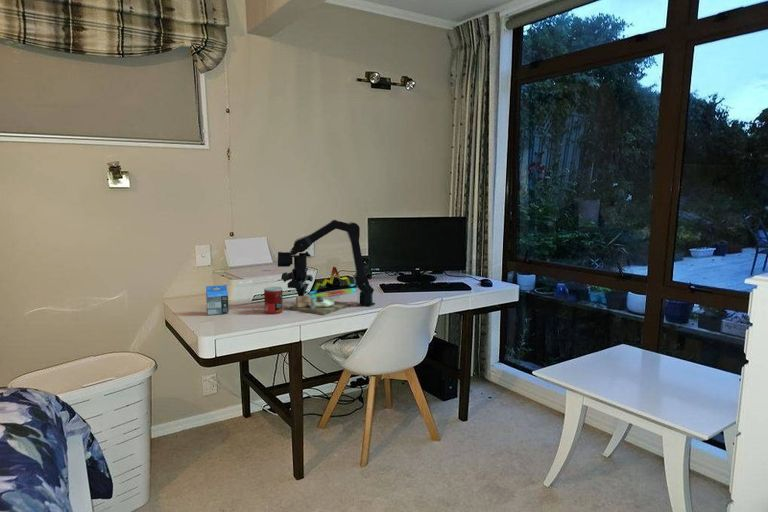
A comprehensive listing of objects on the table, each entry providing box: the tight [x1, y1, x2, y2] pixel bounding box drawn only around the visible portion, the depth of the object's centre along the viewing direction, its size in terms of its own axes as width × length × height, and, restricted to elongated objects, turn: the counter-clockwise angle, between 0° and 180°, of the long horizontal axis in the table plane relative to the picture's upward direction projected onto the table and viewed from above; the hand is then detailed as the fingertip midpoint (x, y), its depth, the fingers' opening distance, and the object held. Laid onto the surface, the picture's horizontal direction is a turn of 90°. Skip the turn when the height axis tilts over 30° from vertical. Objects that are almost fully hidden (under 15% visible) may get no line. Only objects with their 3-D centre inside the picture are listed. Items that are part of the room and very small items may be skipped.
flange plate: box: [295, 294, 335, 308], centre depth 223 cm, size 18×13×4 cm
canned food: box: [263, 286, 284, 315], centre depth 214 cm, size 8×8×11 cm
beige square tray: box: [288, 299, 351, 316], centre depth 224 cm, size 20×20×6 cm
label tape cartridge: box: [205, 284, 230, 316], centre depth 211 cm, size 9×4×12 cm, turn 114°
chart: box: [305, 266, 357, 299], centre depth 248 cm, size 30×3×15 cm, turn 132°
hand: (300, 299), depth 223 cm, fingers closed
